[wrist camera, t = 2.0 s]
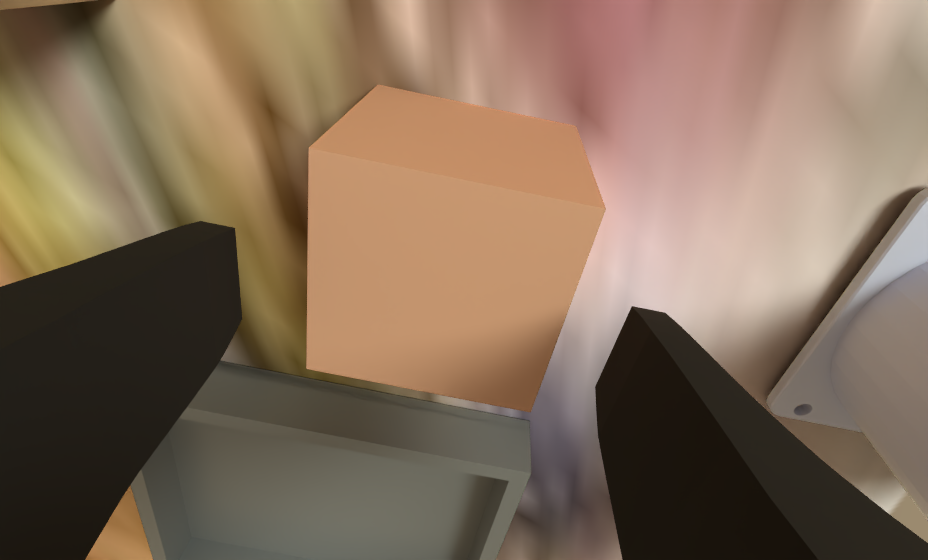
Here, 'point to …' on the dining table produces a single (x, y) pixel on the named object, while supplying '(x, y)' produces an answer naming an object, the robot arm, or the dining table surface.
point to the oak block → (33, 3)
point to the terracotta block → (445, 245)
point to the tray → (329, 474)
